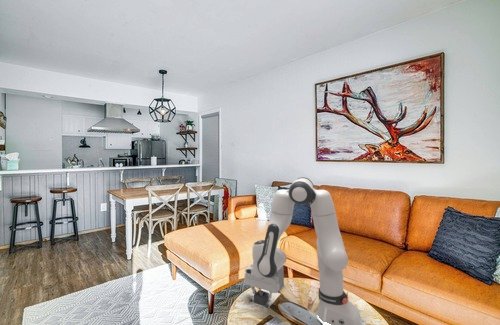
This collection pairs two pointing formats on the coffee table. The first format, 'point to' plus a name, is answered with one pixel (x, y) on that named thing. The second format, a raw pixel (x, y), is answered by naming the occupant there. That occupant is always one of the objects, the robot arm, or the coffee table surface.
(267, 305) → the grey peg base plate
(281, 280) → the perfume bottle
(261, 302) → the dark grey hollow block
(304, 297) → the coffee table surface
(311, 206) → the robot arm
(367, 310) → the coffee table surface
